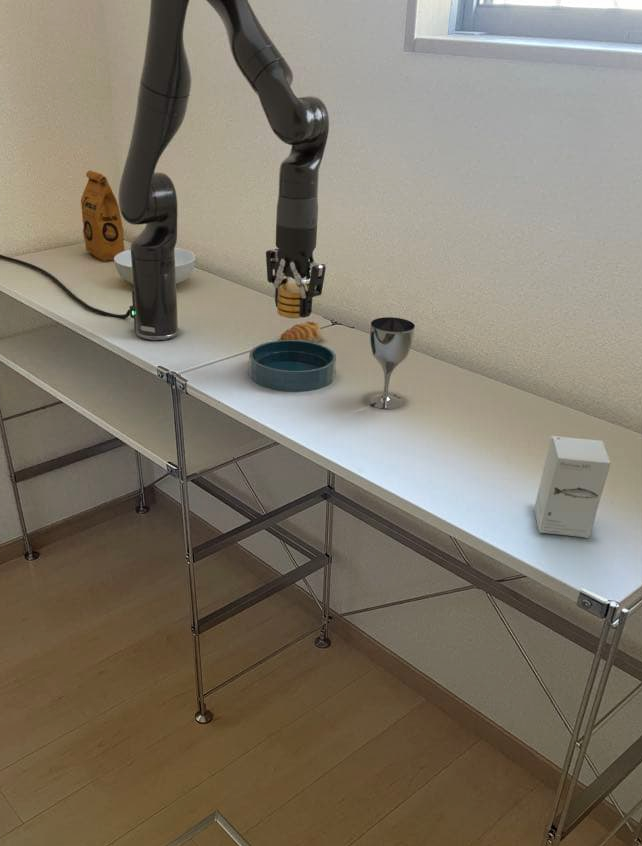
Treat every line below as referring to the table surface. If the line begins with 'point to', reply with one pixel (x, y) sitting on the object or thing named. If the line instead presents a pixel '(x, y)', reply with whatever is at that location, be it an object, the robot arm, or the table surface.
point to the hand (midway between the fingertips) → (292, 311)
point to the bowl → (292, 365)
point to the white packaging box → (571, 486)
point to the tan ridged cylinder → (289, 300)
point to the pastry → (303, 332)
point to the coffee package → (101, 219)
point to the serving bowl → (182, 264)
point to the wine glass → (390, 352)
